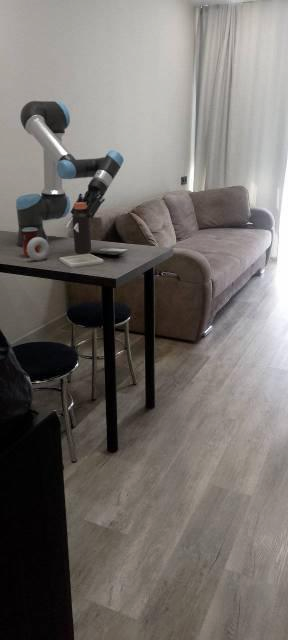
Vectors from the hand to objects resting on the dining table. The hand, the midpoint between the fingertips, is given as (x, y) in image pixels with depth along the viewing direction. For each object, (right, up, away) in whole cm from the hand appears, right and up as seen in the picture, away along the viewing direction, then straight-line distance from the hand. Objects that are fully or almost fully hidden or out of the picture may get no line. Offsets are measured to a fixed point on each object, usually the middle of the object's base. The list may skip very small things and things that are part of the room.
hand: (72, 229), depth 202 cm
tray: (+3, -12, +8) cm, 15 cm away
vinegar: (+4, -9, +5) cm, 11 cm away
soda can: (-21, -8, +20) cm, 30 cm away
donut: (-16, -11, +12) cm, 23 cm away
